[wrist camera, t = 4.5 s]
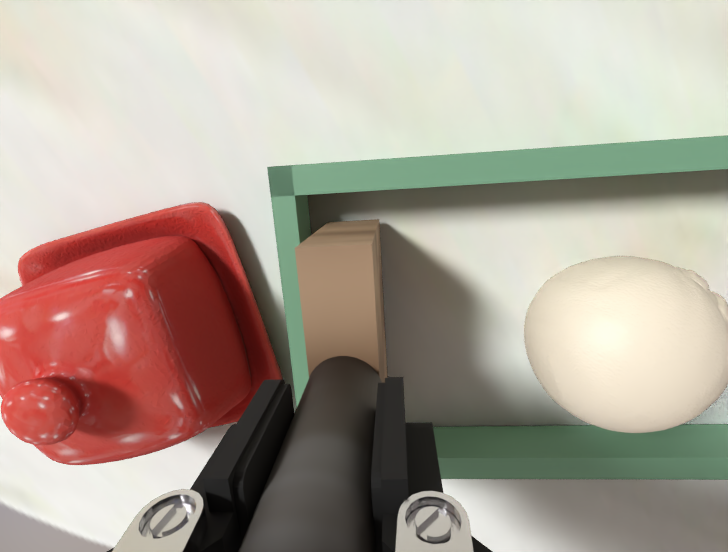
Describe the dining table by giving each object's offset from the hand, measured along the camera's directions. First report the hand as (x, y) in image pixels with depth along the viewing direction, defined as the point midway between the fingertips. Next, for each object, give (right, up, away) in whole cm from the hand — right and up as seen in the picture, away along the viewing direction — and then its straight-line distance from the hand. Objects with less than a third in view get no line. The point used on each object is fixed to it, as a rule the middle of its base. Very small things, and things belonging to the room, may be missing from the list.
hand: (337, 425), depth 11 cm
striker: (+1, +2, +8) cm, 9 cm away
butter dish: (-10, +2, +10) cm, 14 cm away
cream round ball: (+11, +3, +8) cm, 14 cm away
